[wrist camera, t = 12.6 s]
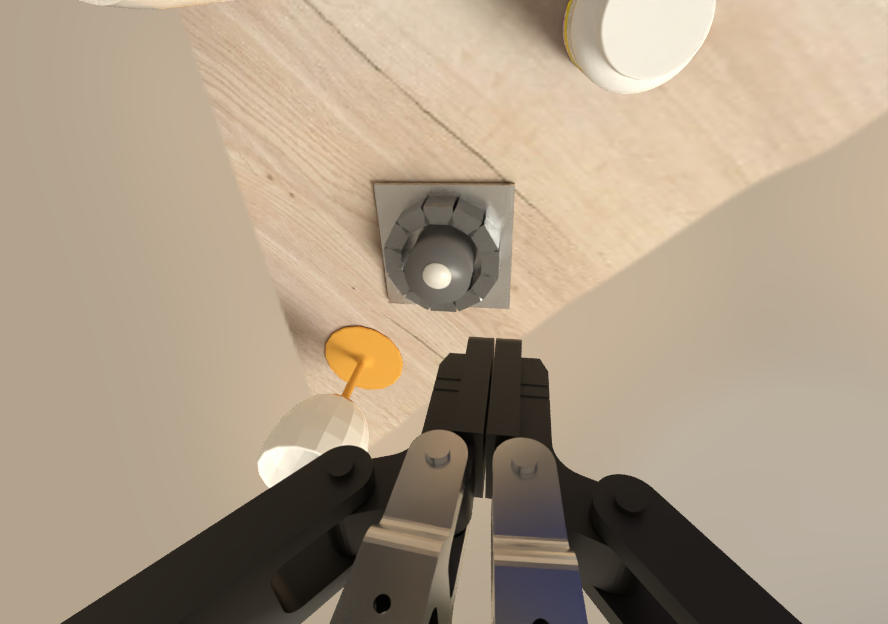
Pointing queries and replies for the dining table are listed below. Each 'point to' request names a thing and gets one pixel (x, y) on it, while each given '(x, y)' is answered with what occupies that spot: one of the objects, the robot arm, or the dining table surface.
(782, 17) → the dining table surface
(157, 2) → the drinking glass
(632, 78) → the supplement bottle
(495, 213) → the segmented ring on plate
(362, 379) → the cup
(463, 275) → the cap
